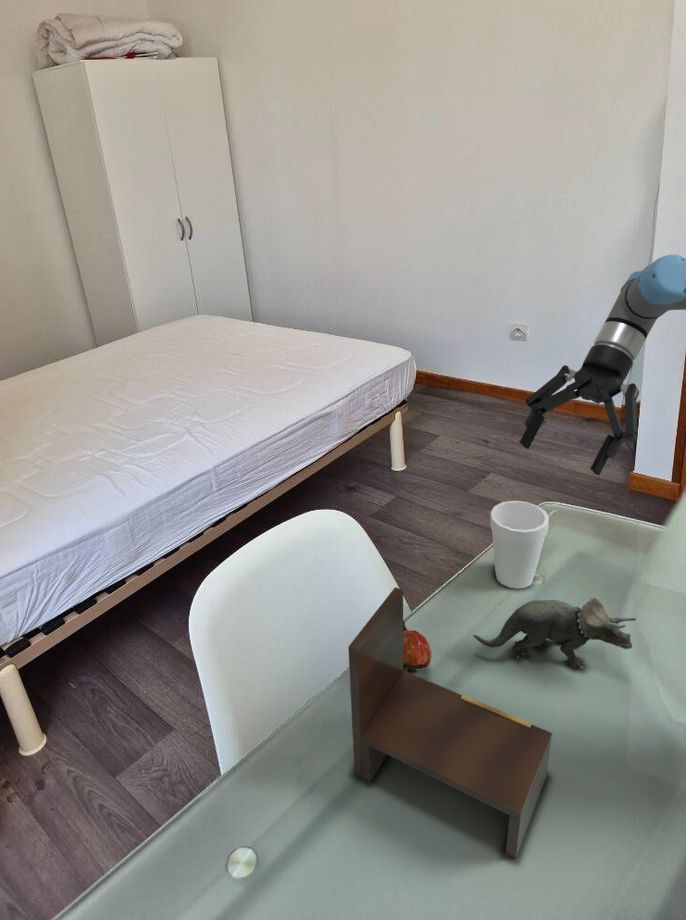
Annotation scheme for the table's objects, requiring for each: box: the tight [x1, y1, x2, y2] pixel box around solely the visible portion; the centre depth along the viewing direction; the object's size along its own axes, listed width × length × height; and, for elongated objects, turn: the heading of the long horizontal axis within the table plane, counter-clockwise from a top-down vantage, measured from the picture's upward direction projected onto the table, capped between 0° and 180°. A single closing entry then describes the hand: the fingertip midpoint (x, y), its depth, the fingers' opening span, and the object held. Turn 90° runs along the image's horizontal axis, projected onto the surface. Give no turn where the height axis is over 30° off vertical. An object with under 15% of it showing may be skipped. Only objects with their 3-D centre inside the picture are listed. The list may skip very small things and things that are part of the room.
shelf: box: [348, 586, 553, 860], centre depth 83 cm, size 21×12×22 cm, turn 57°
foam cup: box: [489, 500, 550, 590], centre depth 119 cm, size 10×9×13 cm
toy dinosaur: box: [472, 596, 637, 669], centre depth 103 cm, size 22×8×11 cm, turn 73°
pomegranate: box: [403, 620, 432, 672], centre depth 103 cm, size 7×7×10 cm
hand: (557, 458), depth 119 cm, fingers open, 13 cm apart
